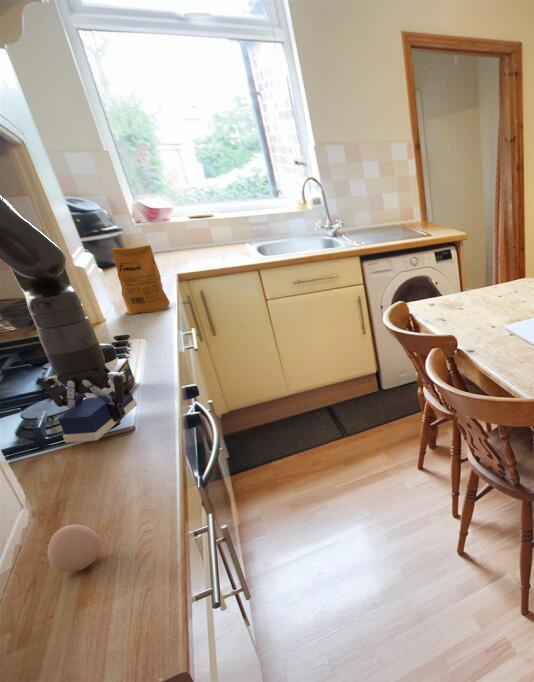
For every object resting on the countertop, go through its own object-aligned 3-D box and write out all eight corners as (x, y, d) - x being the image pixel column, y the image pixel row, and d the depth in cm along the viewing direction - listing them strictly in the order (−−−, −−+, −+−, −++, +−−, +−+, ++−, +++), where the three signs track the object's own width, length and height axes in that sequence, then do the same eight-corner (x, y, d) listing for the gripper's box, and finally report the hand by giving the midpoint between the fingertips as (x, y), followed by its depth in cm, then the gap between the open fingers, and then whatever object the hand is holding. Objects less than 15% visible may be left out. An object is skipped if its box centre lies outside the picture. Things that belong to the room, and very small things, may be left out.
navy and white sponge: (97, 440, 88) (87, 418, 86) (65, 442, 87) (54, 420, 85) (137, 404, 100) (129, 384, 98) (109, 406, 99) (101, 386, 97)
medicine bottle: (127, 398, 107) (108, 350, 102) (88, 404, 104) (68, 355, 100) (137, 384, 113) (120, 338, 108) (100, 389, 110) (82, 343, 106)
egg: (56, 588, 61) (34, 550, 58) (61, 562, 65) (41, 525, 62) (106, 569, 64) (87, 532, 61) (108, 545, 68) (91, 509, 65)
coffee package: (130, 307, 165) (109, 245, 156) (172, 302, 170) (154, 242, 162) (124, 316, 157) (101, 251, 148) (168, 310, 162) (149, 247, 154)
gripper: (125, 334, 91) (152, 408, 98) (43, 338, 89) (76, 413, 96) (100, 350, 84) (130, 428, 91) (11, 354, 82) (48, 434, 89)
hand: (102, 420), depth 93 cm, fingers closed on navy and white sponge, 5 cm apart
